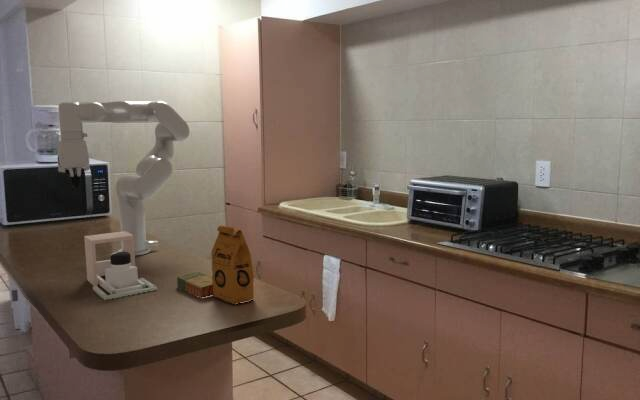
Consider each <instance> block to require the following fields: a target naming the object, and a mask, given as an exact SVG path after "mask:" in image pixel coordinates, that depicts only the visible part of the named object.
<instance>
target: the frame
mask: <svg viewBox="0 0 640 400" xmlns="http://www.w3.org/2000/svg"><path fill="white" fill-rule="evenodd" d="M139 280H141V281H142V282H144V283H145V288H144V289H139V290H134V291H128V292H123V293H117V294H112V295H111V294H108V295H107V294H106V292H104V291H103V290H102V289H101V288H99V286H92V291H93V292H95V293H96V294H97V295H98V296H99V297H100V298H101V299H103V301H108V300H112V298H113V299H118V298H123V296H124V297H129V296H133V294H134V295H138V293H140V294H144V293H143V292H145V293H149V292H148V291H150V292H155V291H158V286H156V285H155V284H153V283H152V282H150V281H149V280H147V279H145V278H144V277H140V278H139ZM147 286H148V287H147ZM154 290H155V291H154ZM128 295H129V296H128ZM107 299H108V300H107Z"/></svg>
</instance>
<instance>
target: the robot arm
mask: <svg viewBox="0 0 640 400" xmlns="http://www.w3.org/2000/svg"><path fill="white" fill-rule="evenodd" d="M58 120H59V121H58V122H59V133H60V135H59V136H60V140H58V141H57V142H58V143H57V153H56V154H57V166H58V168H57V171H58V172H59V173H66V175H68V176H69V179H70V181H69V182H70V186H71V187H72V188H73V189H74V188H79V187H80V185H81V176H82V175H83V173H84V172H87V171H90V170H91V167H90V158H89V157H90V156H89V151H88V150H89V149H88V146H87V142H86V140H85V138H87V137H88V133H85V132H84V129H83V123H84V124H85V123H92V124H93V123H114V124H139V123H140V124H141V123H142V124H145V123H146V124H147V123H157V124H156V125H155V129H154V136H155V143H154V146H153V147H152V148H151V149H150V151H148V152H147V153H146V155H145V156H144V157H142V159H141V160H140V161H139V162H138V163H137V165H136V167H135V172H136V174H126V175H122V176H121V177H119V178H118V180H117V181H116V183H115V192H116V197H117V202H118V207H119V222H120V232H123V231H126V232H128V233H130V234H132V235H134V249H135V257H136V256H141V255H142V256H143V255H146V254H149V253H150V252H151V249H152V248H151V247H156V246H159V241H158V240H147V237H146V236H147V234H146V215H145V214H146V213H145V205H144V204H145V203H144V201H149V200H151V198H153V197H154V196H155V195H156V194H157V193H158V192H159V191H160V190H161V189H162V188H163V187H164V186H165V184H167V182H168V181H169V179H170V178H171V177H172V173H173V166H172V163H171V162H170V161H171V160H172V158H173V156H174V153H175V152H174V151H175V150H174V142H181V141H182V142H183V141H185V140H186V139H188V138H189V136H190V135H189V134H190V126H189V125H188V123H187V122H186V120H184V118H183V117H181V115H180V114H179V113H178V112H177V111H176V110H175V109H174V108H173V107H172V106H171V105H170V104H168V103H167V102H165V101H162V100H155V101H153V100H152V101H150V100H149V101H145V100H143V101H140V100H139V101H138V100H137V101H135V100H134V101H133V100H130V101H129V100H120V101H119V100H117V101H109V102H108V101H107V102H96V101H85V102H83V101H82V102H75V101H73V102H71V101H67V102H65V101H64V102H60V103H59V104H58ZM73 169H75V174H74V170H73ZM120 243H121V248H120V249H118V250H117V252H122V251H123V240H122V241H120Z"/></svg>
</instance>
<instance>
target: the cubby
mask: <svg viewBox="0 0 640 400" xmlns="http://www.w3.org/2000/svg"><path fill="white" fill-rule="evenodd" d="M83 239H84V253H85V264H86V265H85V267H86V278H87V279H86V281H87V282H88V283H89V284H90V285H92V287H94V286H97V287H99V284H98V281H97V266H96V262H97V255H96V245H98V244H105V243H112V242H113V243H114V242H121V241H122V240H123V251H124V252H128V253H130V255H131V265H130V266H135V267H136V256H135V249H134V235H132V234H130V233H128V232H126V231H123V232H121V231H115V232H108V233H99V234H93V235H90V234H89V235H84V237H83Z"/></svg>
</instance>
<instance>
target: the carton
mask: <svg viewBox="0 0 640 400" xmlns="http://www.w3.org/2000/svg"><path fill="white" fill-rule="evenodd" d="M176 282H177V283H176V284H177V289H179V288H181V289H183V290H185V291H187V292H190V293H192V294H194V295H196V296H199V297H201V298H202V297H206V296H210V295H213V283H212V276H209V275H207V274H204V273H201V272H194V273H189V274H185V275H180V276H177V279H176ZM181 289H180V290H181ZM183 290H182V291H183ZM185 291H184V292H185ZM187 292H186V293H187ZM196 296H195V297H196Z"/></svg>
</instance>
